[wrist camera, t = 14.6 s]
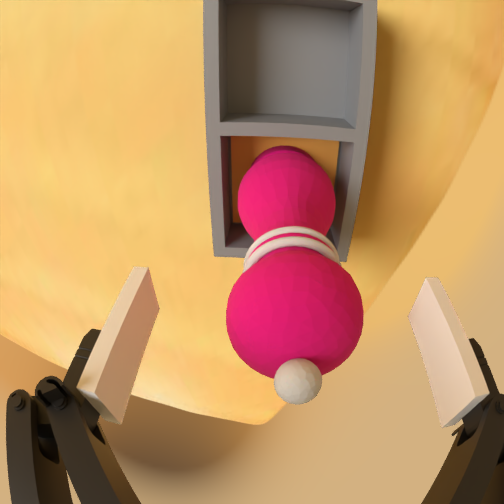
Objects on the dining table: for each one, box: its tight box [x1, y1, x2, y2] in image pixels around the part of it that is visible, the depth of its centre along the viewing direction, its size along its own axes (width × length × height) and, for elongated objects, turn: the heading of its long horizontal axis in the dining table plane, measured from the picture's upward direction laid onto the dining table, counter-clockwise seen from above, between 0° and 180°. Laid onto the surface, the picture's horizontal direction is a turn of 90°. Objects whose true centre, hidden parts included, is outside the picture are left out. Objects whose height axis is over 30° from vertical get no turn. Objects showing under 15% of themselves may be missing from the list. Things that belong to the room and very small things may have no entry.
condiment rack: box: [203, 0, 377, 262], centre depth 22 cm, size 12×22×5 cm, turn 0°
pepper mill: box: [226, 145, 363, 404], centre depth 18 cm, size 7×7×20 cm
